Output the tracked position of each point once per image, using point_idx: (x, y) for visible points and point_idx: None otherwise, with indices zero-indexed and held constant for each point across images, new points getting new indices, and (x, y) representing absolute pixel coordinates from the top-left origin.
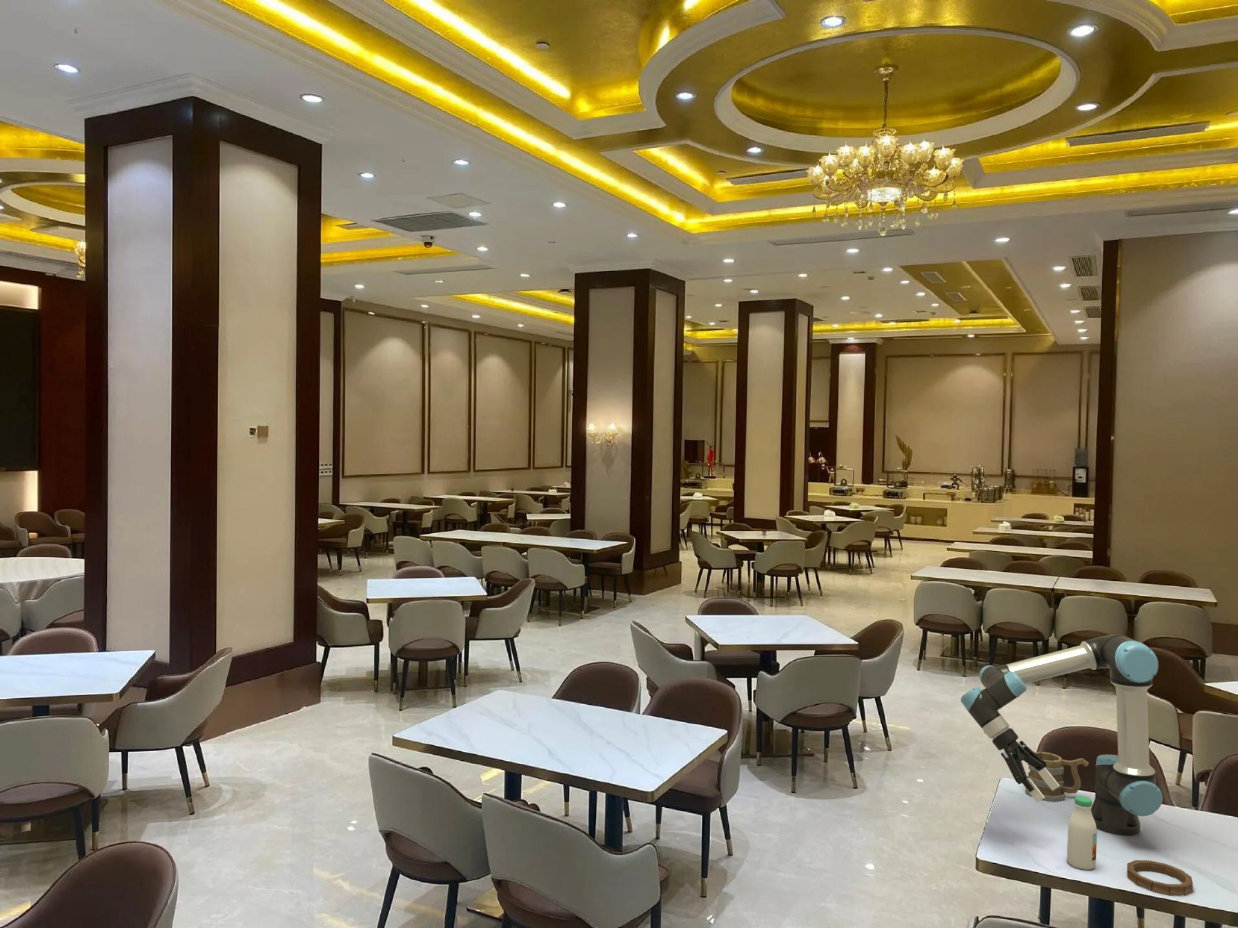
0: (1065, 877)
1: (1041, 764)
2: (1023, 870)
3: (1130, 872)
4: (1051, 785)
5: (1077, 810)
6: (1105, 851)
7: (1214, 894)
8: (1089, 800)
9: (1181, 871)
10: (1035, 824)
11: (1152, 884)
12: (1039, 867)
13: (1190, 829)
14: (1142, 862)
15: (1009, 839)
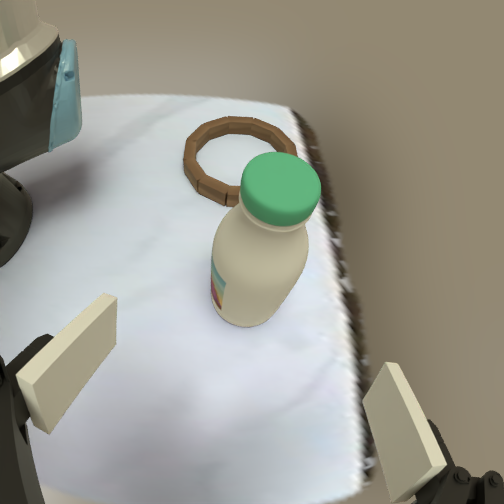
0: (345, 323)
1: (6, 406)
2: None
3: None
4: (103, 345)
5: (297, 232)
6: (128, 243)
7: (241, 110)
8: (289, 159)
9: (210, 124)
10: None
11: None
12: (328, 384)
13: None
14: (202, 170)
15: (181, 475)
